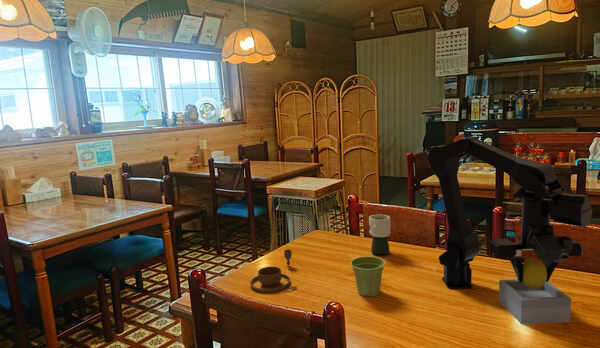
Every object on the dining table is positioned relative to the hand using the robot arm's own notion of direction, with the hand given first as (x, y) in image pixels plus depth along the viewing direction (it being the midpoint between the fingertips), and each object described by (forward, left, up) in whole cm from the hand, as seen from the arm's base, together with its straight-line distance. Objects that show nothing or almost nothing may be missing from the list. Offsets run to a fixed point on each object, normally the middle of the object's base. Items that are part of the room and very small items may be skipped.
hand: (533, 281), depth 97 cm
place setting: (-64, +22, -8) cm, 68 cm away
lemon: (0, 0, -2) cm, 2 cm away
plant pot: (-38, +12, -8) cm, 40 cm away
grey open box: (0, 0, -8) cm, 8 cm away
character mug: (-31, +42, -8) cm, 53 cm away
